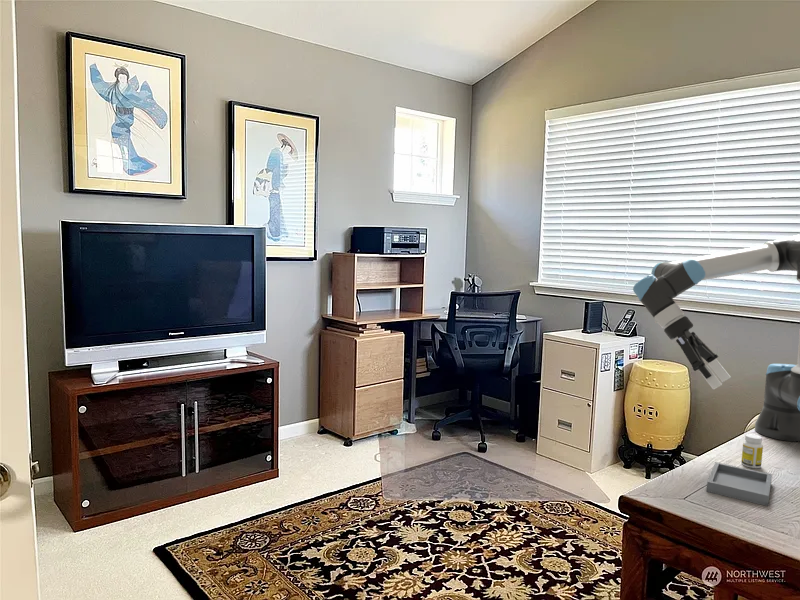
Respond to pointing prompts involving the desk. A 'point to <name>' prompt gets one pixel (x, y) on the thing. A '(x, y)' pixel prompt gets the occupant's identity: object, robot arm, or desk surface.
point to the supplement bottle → (752, 451)
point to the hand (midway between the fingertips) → (722, 383)
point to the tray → (740, 483)
